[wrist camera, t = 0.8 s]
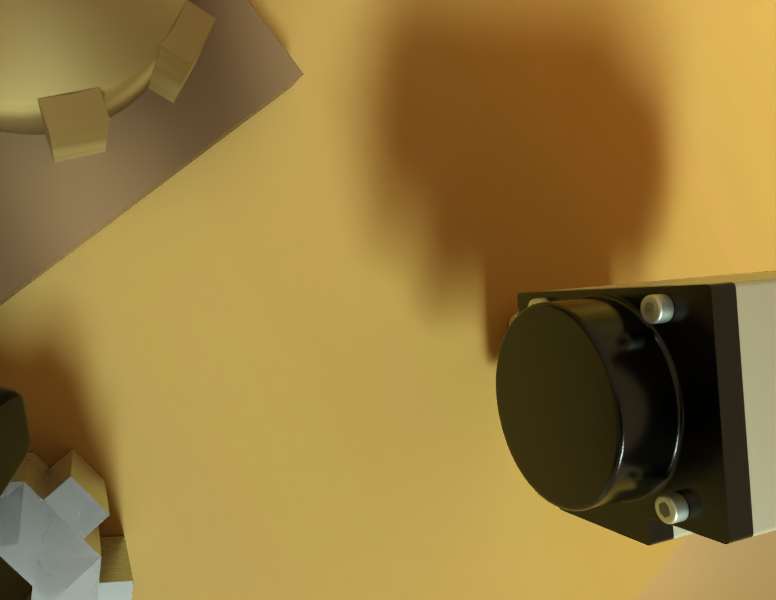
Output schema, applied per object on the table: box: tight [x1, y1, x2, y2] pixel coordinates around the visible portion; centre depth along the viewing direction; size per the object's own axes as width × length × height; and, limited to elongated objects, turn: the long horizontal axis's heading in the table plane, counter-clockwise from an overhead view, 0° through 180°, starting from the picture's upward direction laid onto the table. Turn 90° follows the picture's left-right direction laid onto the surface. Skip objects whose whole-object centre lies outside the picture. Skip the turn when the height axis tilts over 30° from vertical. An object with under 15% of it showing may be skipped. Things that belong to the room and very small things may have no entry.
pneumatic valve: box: [496, 271, 776, 545], centre depth 19 cm, size 6×12×12 cm, turn 95°
